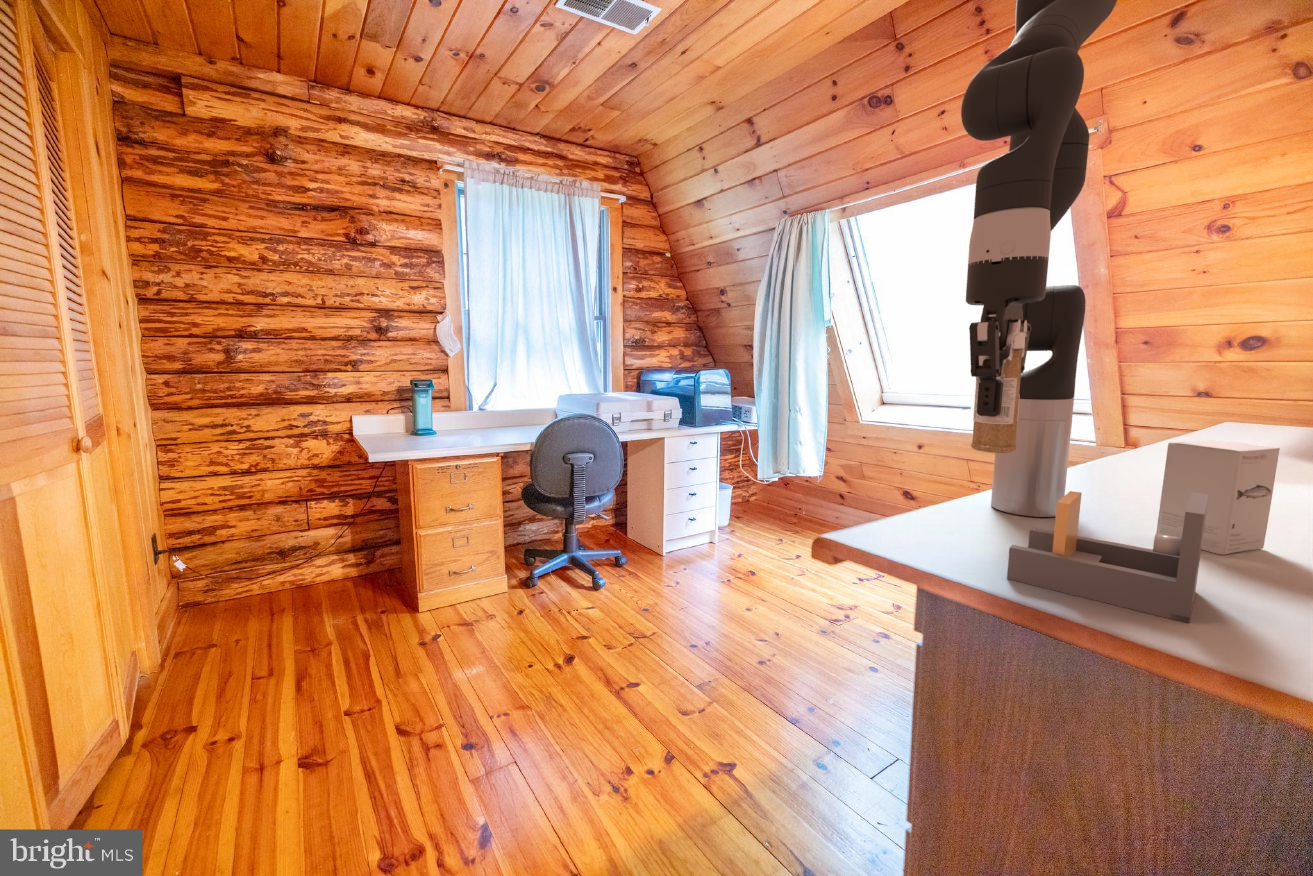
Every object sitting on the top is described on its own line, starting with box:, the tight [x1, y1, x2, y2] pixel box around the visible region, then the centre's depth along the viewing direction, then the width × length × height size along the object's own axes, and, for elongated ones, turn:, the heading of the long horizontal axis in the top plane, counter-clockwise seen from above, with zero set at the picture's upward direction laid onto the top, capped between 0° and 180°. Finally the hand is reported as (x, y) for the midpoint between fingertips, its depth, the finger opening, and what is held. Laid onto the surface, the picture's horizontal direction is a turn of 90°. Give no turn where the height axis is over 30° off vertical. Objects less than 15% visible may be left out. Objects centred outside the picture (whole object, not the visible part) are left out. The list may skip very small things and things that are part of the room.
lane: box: [1006, 493, 1209, 624], centre depth 57 cm, size 9×14×10 cm, turn 44°
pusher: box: [1052, 490, 1102, 563], centre depth 58 cm, size 6×3×8 cm, turn 134°
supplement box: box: [1155, 439, 1281, 556], centre depth 68 cm, size 7×7×13 cm
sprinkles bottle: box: [970, 332, 1025, 454], centre depth 63 cm, size 5×5×13 cm
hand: (995, 413), depth 63 cm, fingers closed on sprinkles bottle, 4 cm apart
